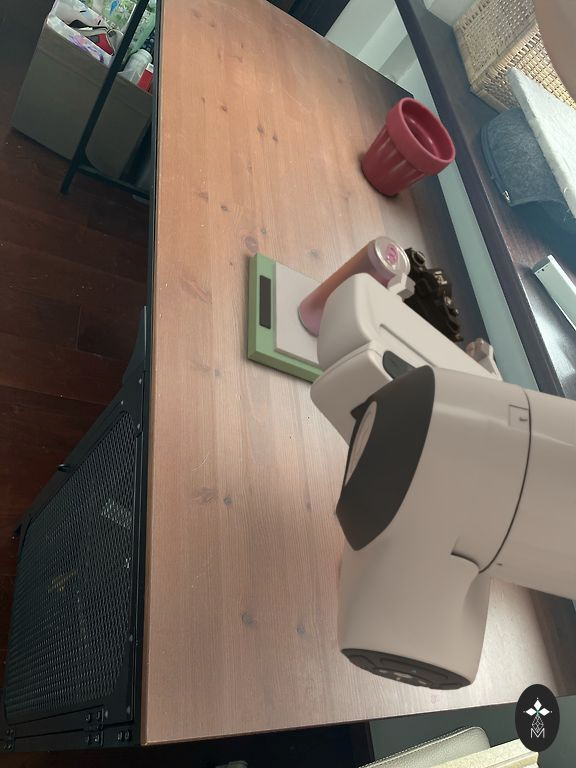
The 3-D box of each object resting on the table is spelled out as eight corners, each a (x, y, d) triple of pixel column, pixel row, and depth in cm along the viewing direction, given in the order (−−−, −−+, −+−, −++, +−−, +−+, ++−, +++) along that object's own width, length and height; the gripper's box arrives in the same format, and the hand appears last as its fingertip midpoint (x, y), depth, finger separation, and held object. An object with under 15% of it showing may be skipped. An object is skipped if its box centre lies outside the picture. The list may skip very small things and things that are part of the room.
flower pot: (393, 219, 113) (446, 172, 105) (340, 161, 111) (390, 109, 102) (413, 190, 123) (463, 146, 115) (365, 137, 121) (412, 88, 112)
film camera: (449, 334, 107) (496, 305, 101) (427, 368, 98) (476, 339, 92) (384, 255, 106) (427, 220, 99) (355, 282, 97) (400, 245, 90)
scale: (247, 358, 76) (259, 347, 74) (249, 260, 84) (260, 248, 82) (352, 397, 84) (365, 388, 83) (344, 304, 93) (356, 295, 91)
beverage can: (334, 317, 85) (413, 255, 75) (327, 347, 81) (409, 286, 71) (301, 292, 83) (377, 225, 73) (292, 322, 79) (371, 255, 69)
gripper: (562, 500, 44) (553, 364, 53) (350, 340, 38) (381, 216, 47) (491, 524, 49) (493, 395, 58) (290, 384, 42) (328, 263, 51)
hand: (441, 313), depth 52 cm, fingers open, 8 cm apart
